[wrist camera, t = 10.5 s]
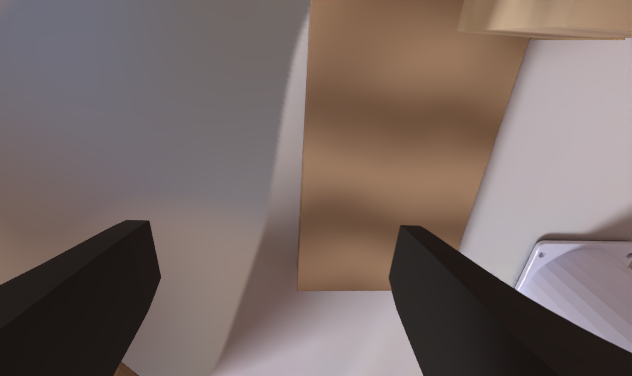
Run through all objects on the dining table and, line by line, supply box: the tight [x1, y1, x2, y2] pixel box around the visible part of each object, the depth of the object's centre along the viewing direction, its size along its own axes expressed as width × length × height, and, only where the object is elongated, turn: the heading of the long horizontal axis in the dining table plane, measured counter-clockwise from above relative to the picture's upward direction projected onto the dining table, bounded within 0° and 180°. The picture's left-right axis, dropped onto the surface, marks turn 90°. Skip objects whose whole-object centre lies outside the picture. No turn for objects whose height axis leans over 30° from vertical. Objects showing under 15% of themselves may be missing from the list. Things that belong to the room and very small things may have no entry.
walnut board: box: [297, 0, 530, 291], centre depth 16 cm, size 22×10×2 cm, turn 176°
